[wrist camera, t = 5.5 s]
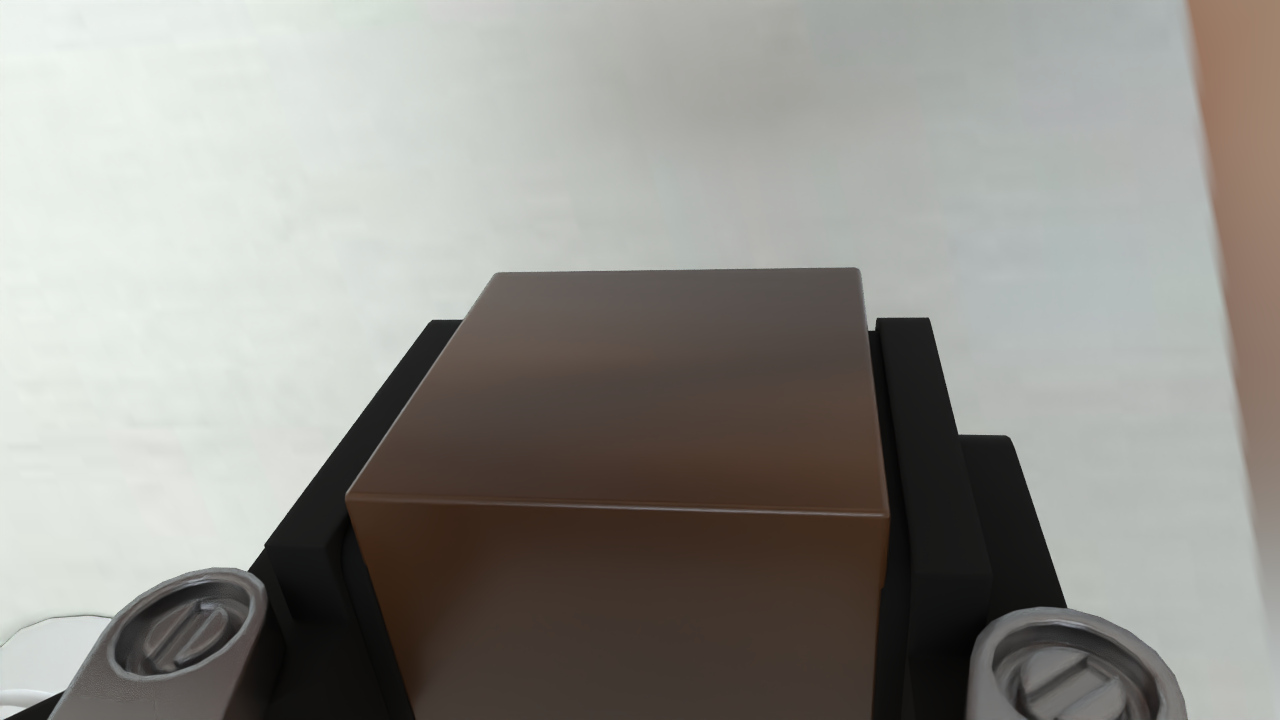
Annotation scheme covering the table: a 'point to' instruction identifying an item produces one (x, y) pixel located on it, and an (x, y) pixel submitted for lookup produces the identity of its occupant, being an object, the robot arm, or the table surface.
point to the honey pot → (44, 660)
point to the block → (637, 502)
